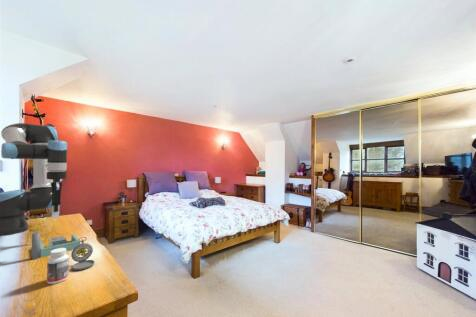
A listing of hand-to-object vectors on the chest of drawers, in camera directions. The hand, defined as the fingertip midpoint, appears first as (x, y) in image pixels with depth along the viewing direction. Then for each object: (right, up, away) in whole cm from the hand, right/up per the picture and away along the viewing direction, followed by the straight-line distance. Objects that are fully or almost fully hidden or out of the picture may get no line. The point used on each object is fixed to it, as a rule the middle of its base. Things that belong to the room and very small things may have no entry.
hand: (55, 217), depth 105 cm
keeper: (+10, -11, -11) cm, 18 cm away
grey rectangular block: (+9, -11, -9) cm, 17 cm away
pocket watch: (+34, -11, -27) cm, 45 cm away
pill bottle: (+33, -10, -36) cm, 50 cm away
